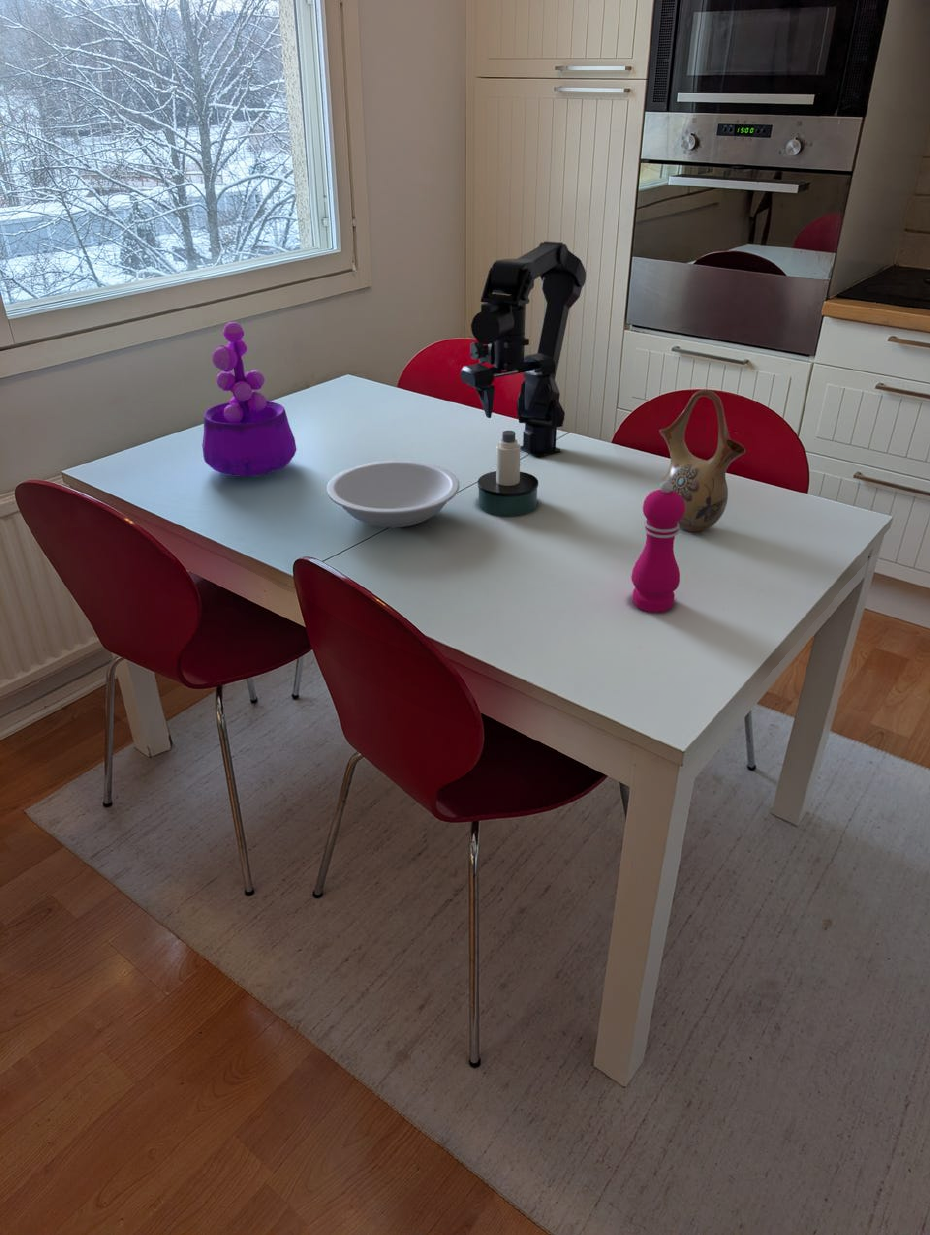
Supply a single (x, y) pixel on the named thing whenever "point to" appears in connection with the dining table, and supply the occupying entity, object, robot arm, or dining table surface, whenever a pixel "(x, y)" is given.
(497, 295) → the robot arm
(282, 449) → the decorative plant
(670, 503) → the pepper mill
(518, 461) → the bottle
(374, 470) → the soup bowl
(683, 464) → the ceramic vessel
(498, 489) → the enamel tin
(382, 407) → the dining table surface
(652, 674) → the dining table surface
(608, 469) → the dining table surface
